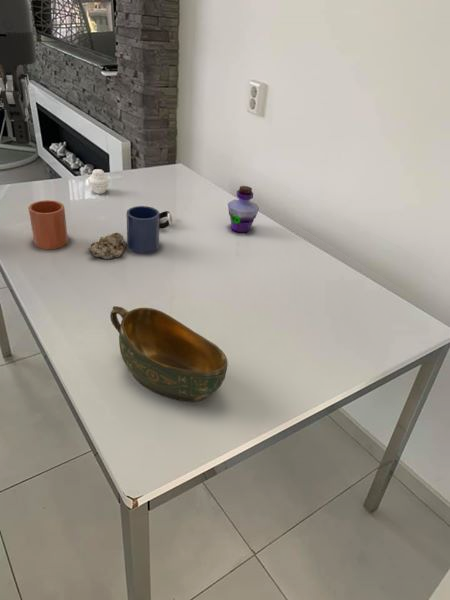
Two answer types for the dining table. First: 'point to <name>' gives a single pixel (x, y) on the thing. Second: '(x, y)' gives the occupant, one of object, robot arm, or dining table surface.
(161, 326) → the painted kuksa bowl
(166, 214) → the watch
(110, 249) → the mineral rock
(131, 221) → the cup right
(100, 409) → the dining table surface
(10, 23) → the robot arm
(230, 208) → the potion bottle
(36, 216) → the cup left
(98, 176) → the white lidded jar
